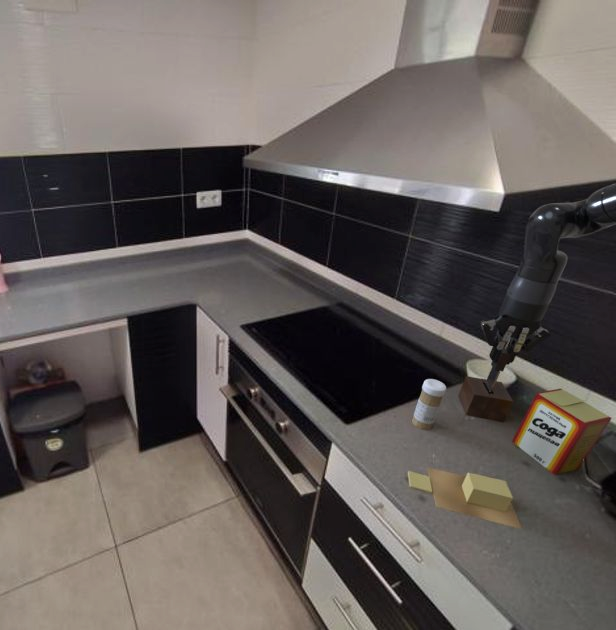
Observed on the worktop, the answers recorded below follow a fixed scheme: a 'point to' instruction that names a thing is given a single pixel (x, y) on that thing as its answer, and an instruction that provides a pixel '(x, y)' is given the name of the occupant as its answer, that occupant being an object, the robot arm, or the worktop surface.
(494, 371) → the knife
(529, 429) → the baking soda box
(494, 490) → the butter block
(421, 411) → the sprinkles bottle
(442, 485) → the butter board
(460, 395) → the knife block
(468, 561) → the worktop surface
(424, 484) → the butter slice
